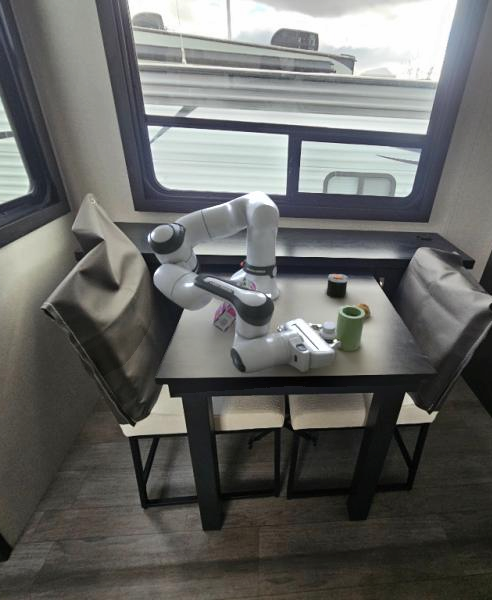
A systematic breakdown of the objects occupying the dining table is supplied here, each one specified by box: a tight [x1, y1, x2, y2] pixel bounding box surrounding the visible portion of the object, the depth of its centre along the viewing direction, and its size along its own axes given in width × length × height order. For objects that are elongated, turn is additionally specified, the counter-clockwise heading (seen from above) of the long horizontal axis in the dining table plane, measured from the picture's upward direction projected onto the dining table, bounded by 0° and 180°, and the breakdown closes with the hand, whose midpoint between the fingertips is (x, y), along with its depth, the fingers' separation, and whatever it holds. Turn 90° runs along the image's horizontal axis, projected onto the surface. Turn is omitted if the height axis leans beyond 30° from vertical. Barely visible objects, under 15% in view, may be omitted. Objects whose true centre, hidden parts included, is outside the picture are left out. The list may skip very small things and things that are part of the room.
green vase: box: [335, 304, 366, 352], centre depth 99 cm, size 8×8×12 cm
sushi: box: [326, 273, 349, 299], centre depth 131 cm, size 8×8×8 cm
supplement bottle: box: [318, 321, 337, 345], centre depth 95 cm, size 5×5×10 cm
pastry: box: [354, 302, 372, 318], centre depth 117 cm, size 9×7×4 cm
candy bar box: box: [212, 277, 256, 333], centre depth 104 cm, size 11×5×16 cm
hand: (330, 334), depth 95 cm, fingers open, 8 cm apart
